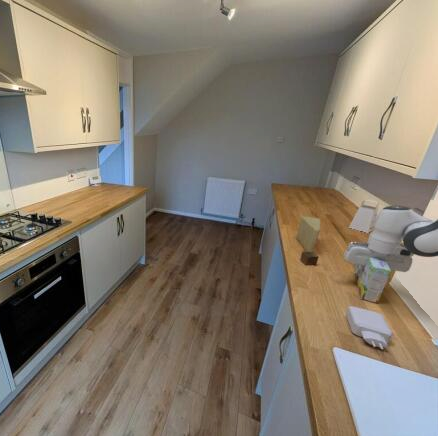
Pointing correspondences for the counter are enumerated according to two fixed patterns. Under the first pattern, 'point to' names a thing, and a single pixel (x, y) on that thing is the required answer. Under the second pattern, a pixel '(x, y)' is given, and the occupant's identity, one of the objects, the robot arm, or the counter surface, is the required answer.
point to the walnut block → (309, 258)
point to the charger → (369, 326)
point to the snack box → (372, 279)
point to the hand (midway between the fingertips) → (369, 275)
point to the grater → (365, 218)
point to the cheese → (308, 232)
